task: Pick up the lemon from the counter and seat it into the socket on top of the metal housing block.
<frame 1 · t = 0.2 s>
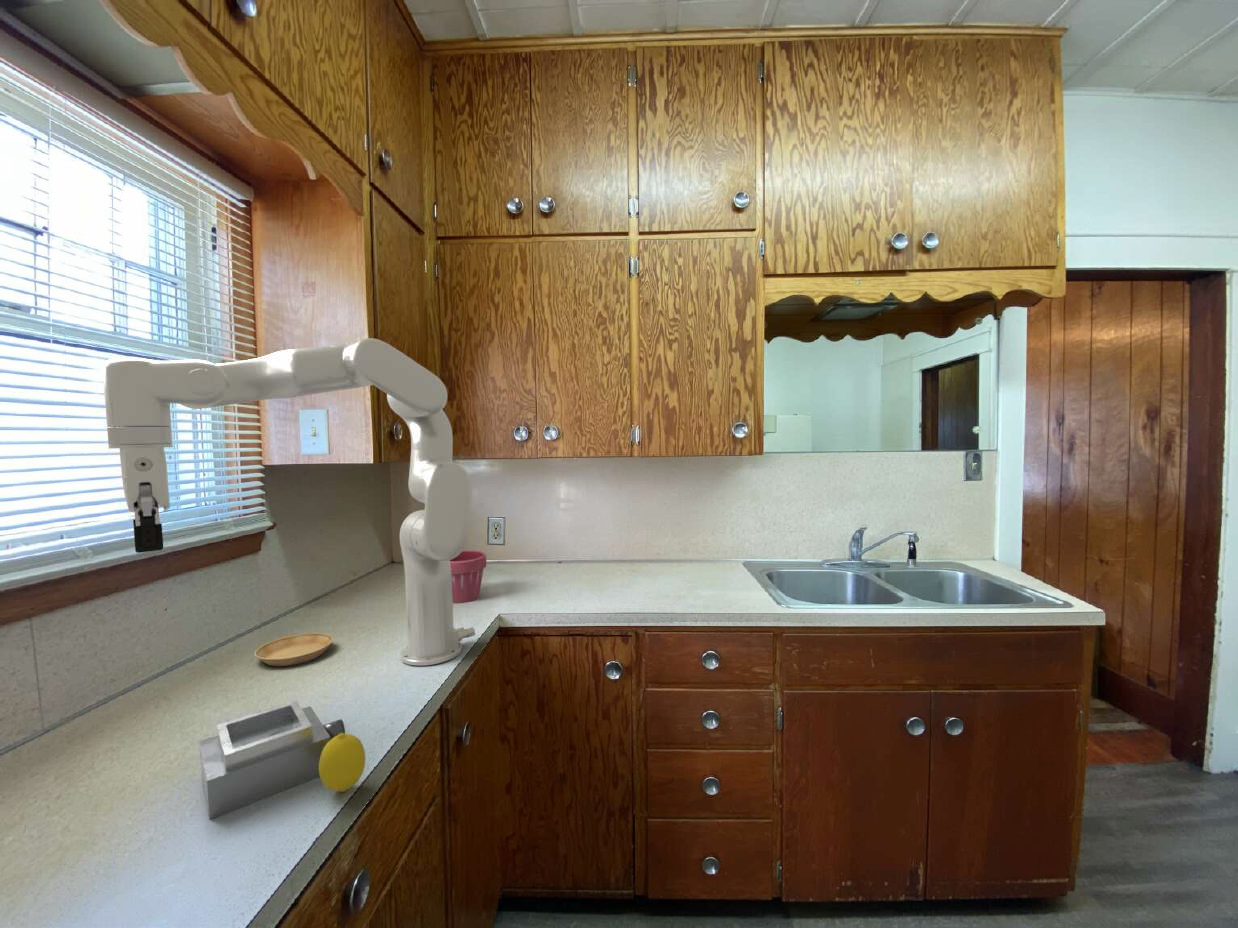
hand: (148, 546, 85), 31 cm above the countertop, fingers open, 9 cm apart
lemon: (344, 792, 72), on the countertop
housing: (267, 772, 76), on the countertop
plant pot: (462, 598, 157), on the countertop
plant saucer: (295, 657, 118), on the countertop
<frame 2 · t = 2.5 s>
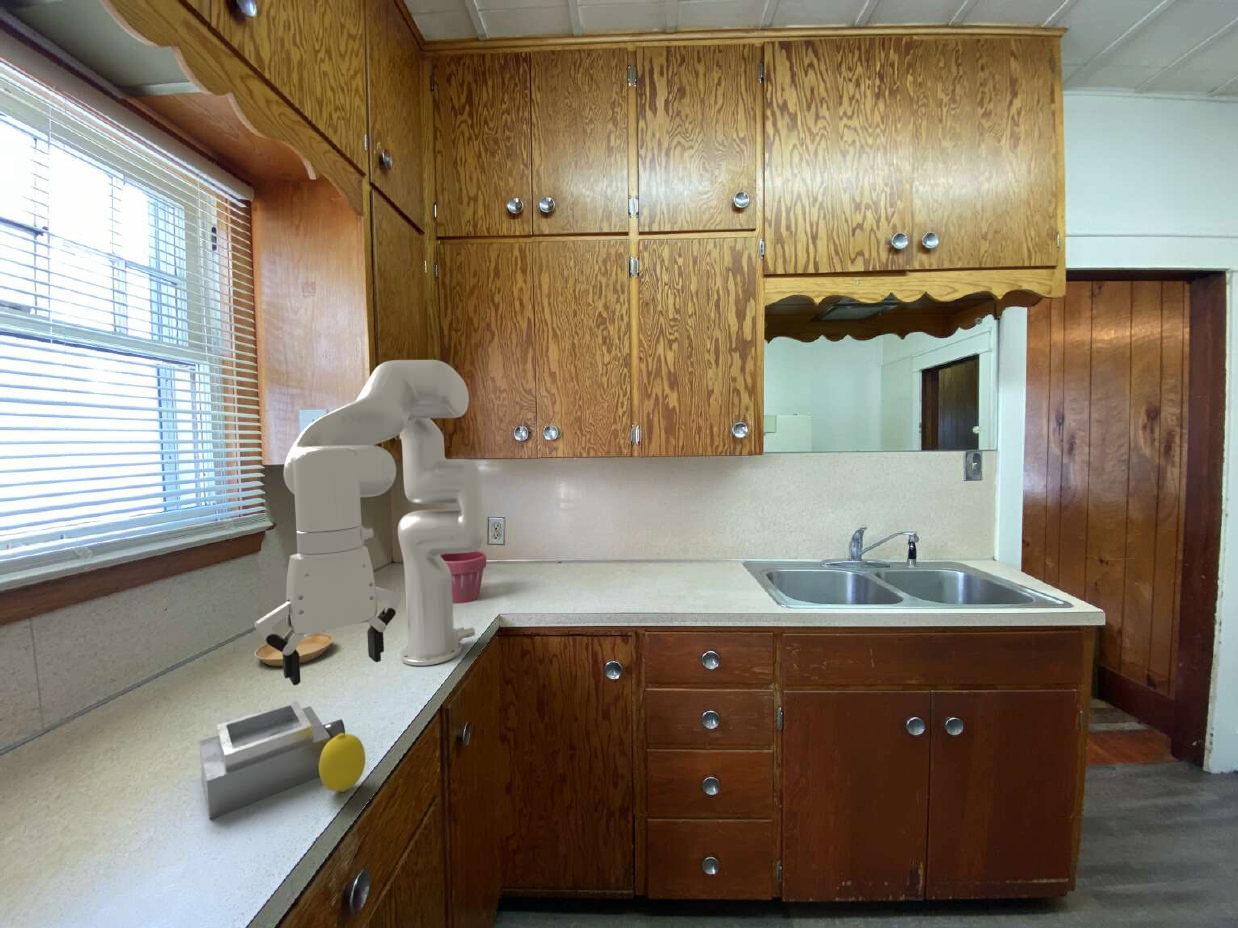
hand: (336, 669, 71), 17 cm above the countertop, fingers open, 9 cm apart
nothing on the countertop moved.
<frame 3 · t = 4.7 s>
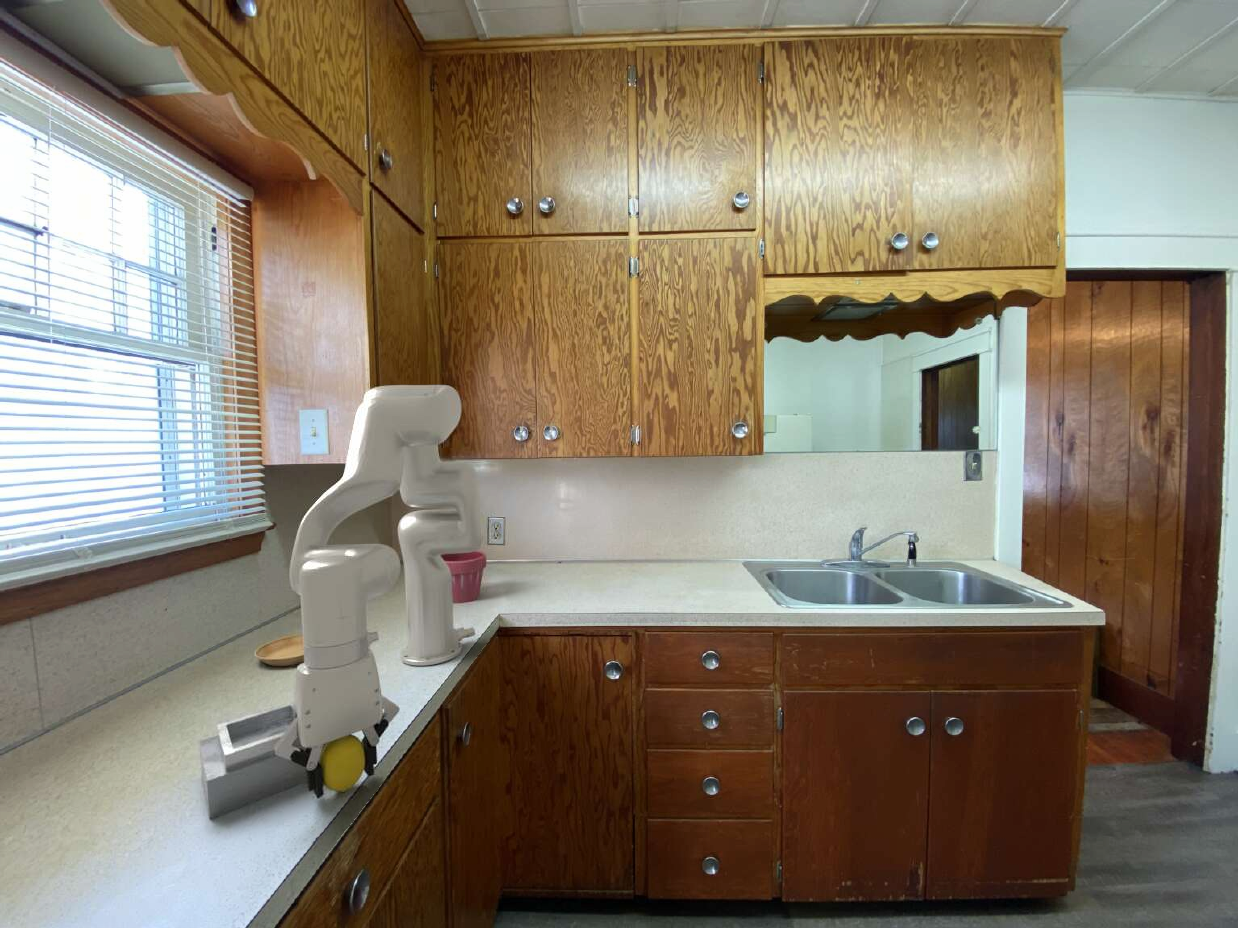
hand: (343, 780, 72), 2 cm above the countertop, fingers closed on lemon, 5 cm apart
lemon: (344, 792, 72), on the countertop, touching gripper
everything else where it was.
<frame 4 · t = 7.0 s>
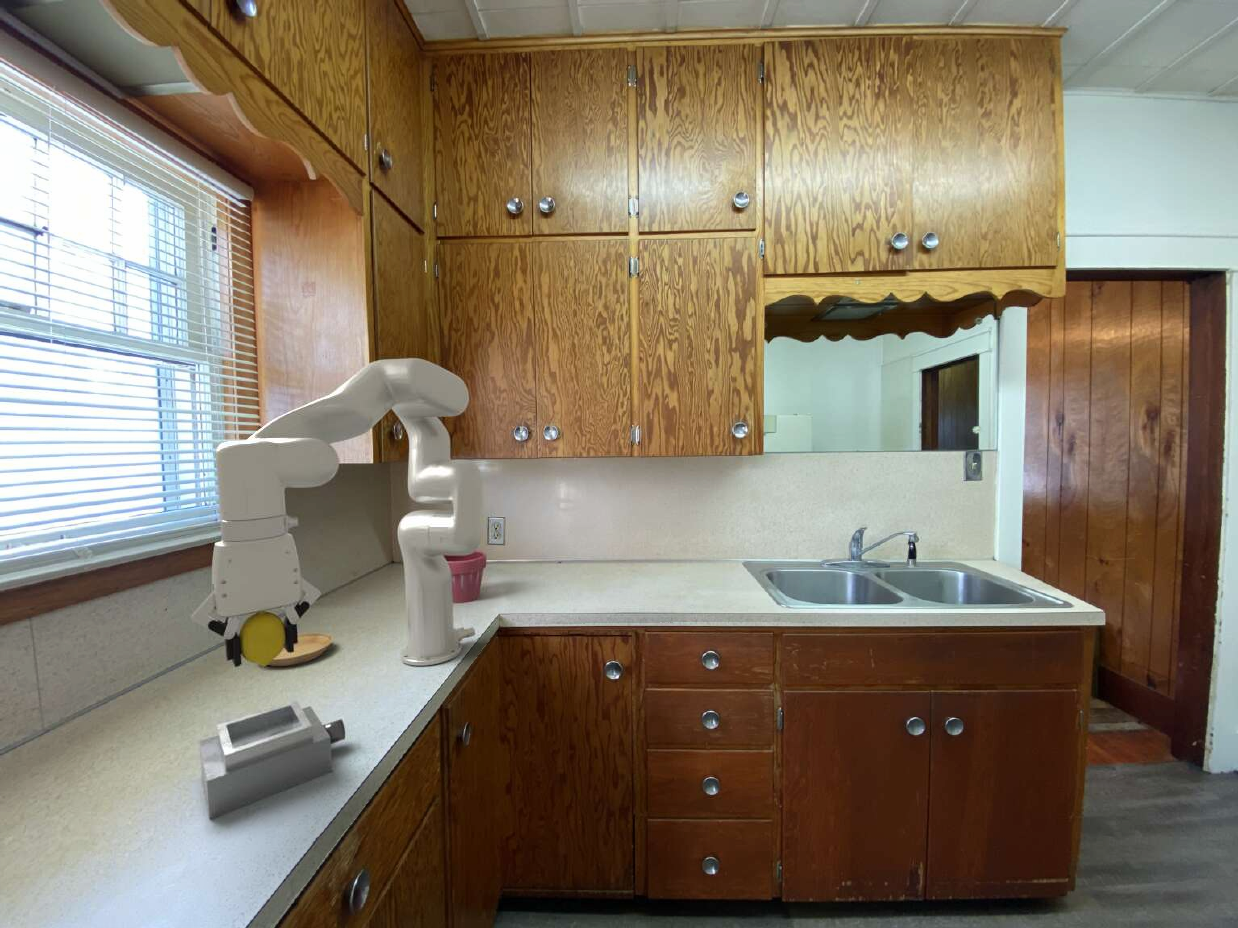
hand: (263, 655, 75), 17 cm above the countertop, fingers closed on lemon, 5 cm apart
lemon: (264, 667, 75), point 15 cm above the countertop, touching gripper
everything else where it was.
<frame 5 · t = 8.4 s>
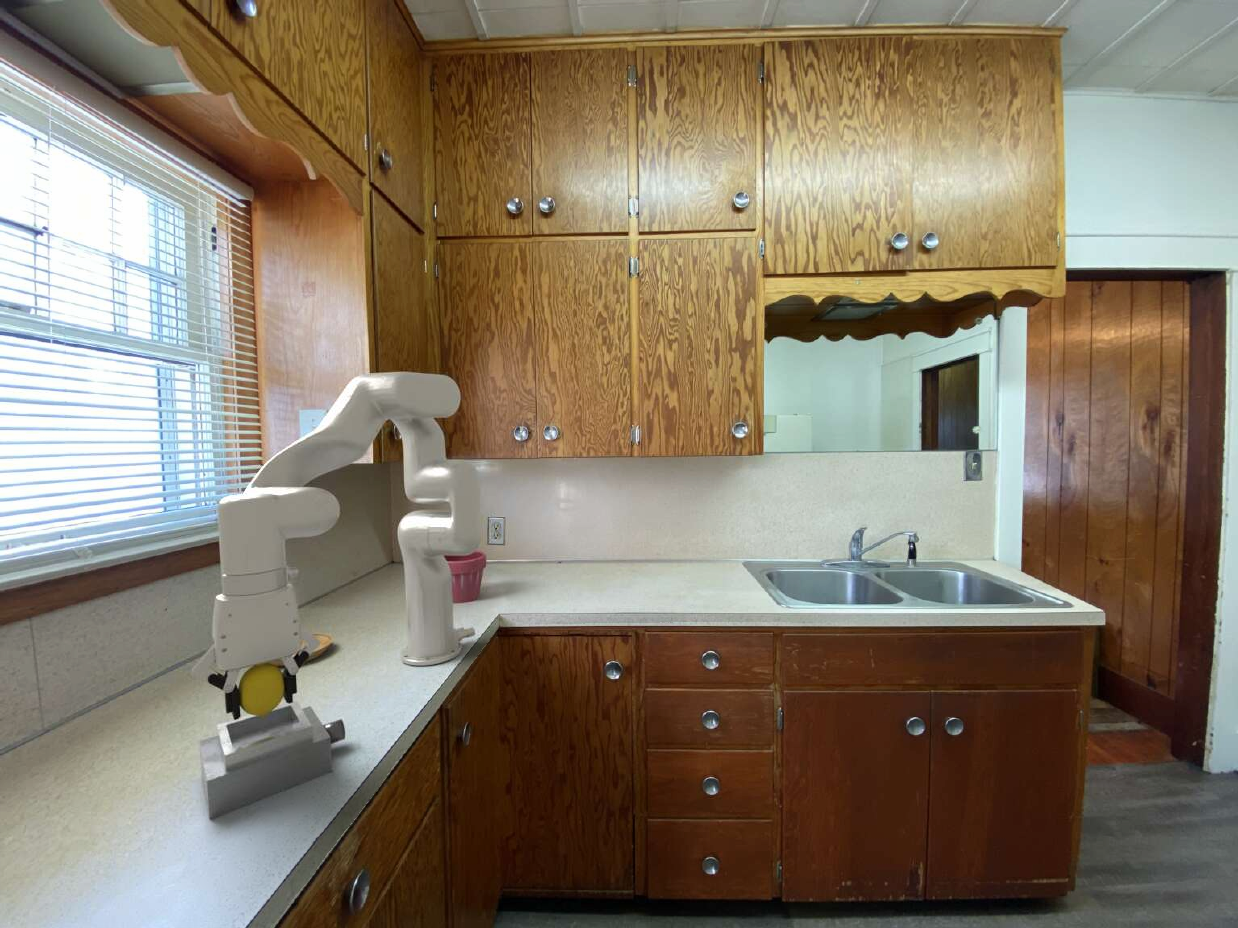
hand: (262, 706, 76), 10 cm above the countertop, fingers closed on lemon, 5 cm apart
lemon: (263, 718, 76), point 8 cm above the countertop, touching gripper
everything else where it was.
when the fingers open (8 cm above the countertop, at t = 9.5 s): lemon drops 2 cm, resting on housing.
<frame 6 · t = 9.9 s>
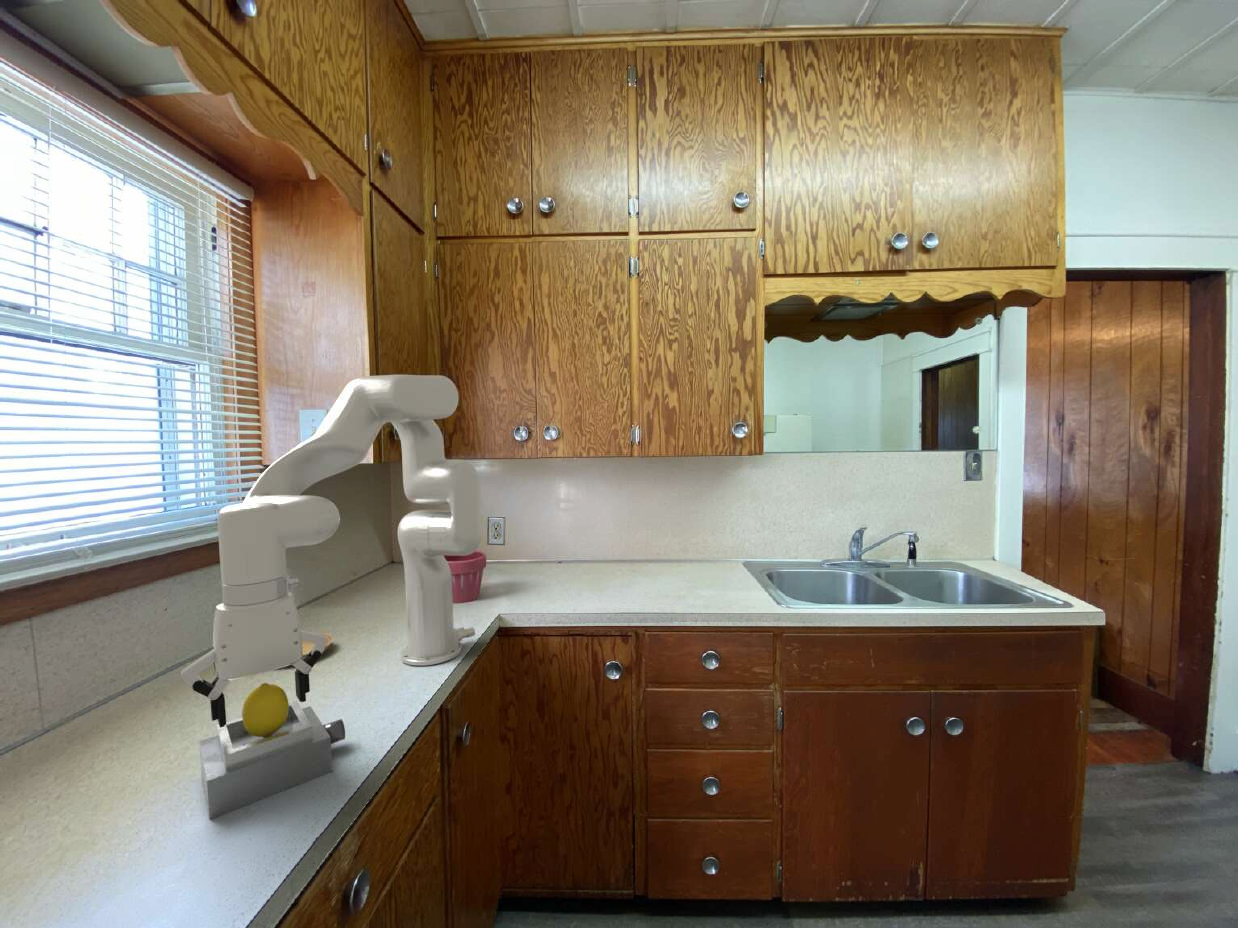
hand: (263, 710, 76), 9 cm above the countertop, fingers open, 9 cm apart
lemon: (267, 739, 76), point 5 cm above the countertop, touching housing
everything else where it was.
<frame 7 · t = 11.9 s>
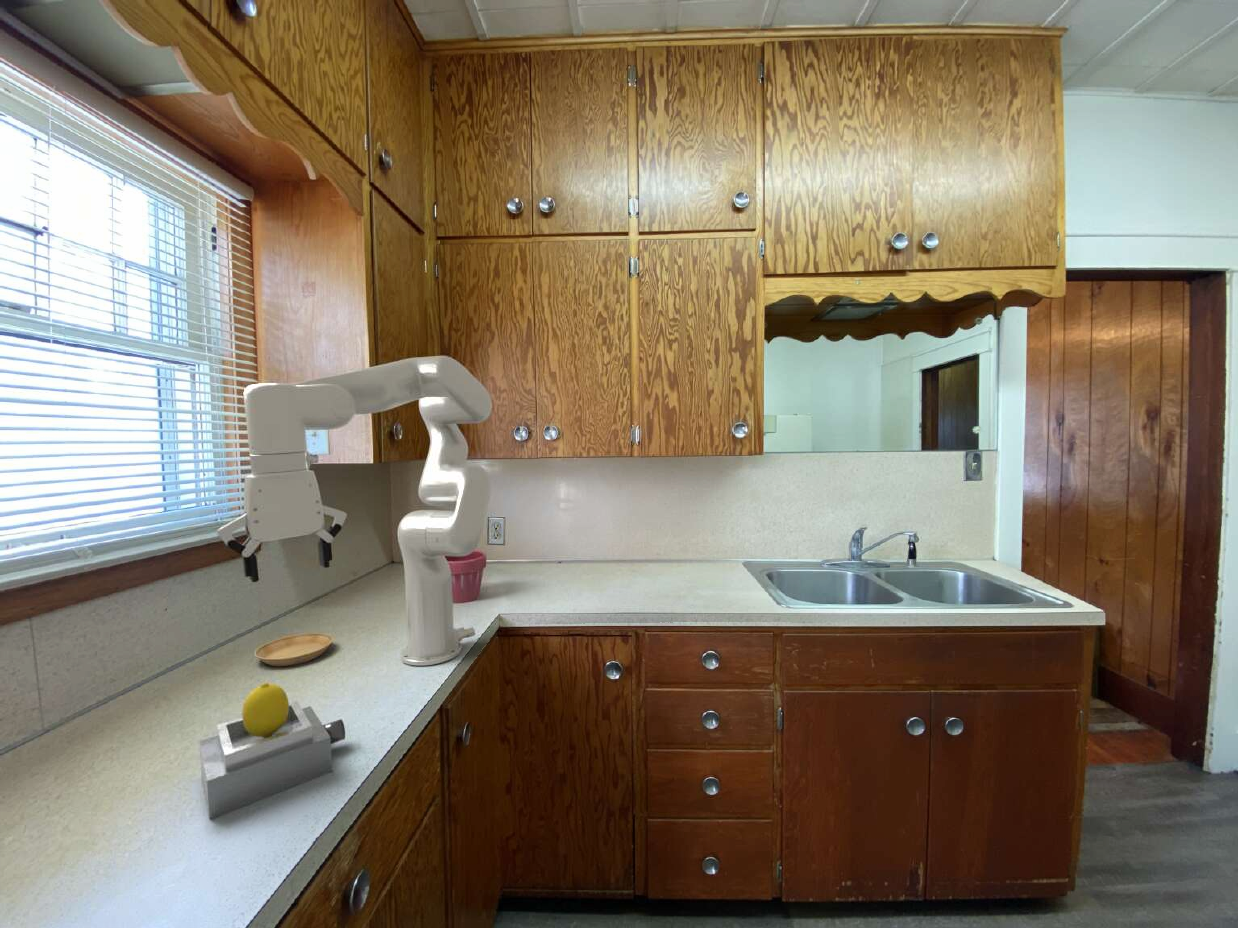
hand: (290, 572, 84), 27 cm above the countertop, fingers open, 9 cm apart
nothing on the countertop moved.
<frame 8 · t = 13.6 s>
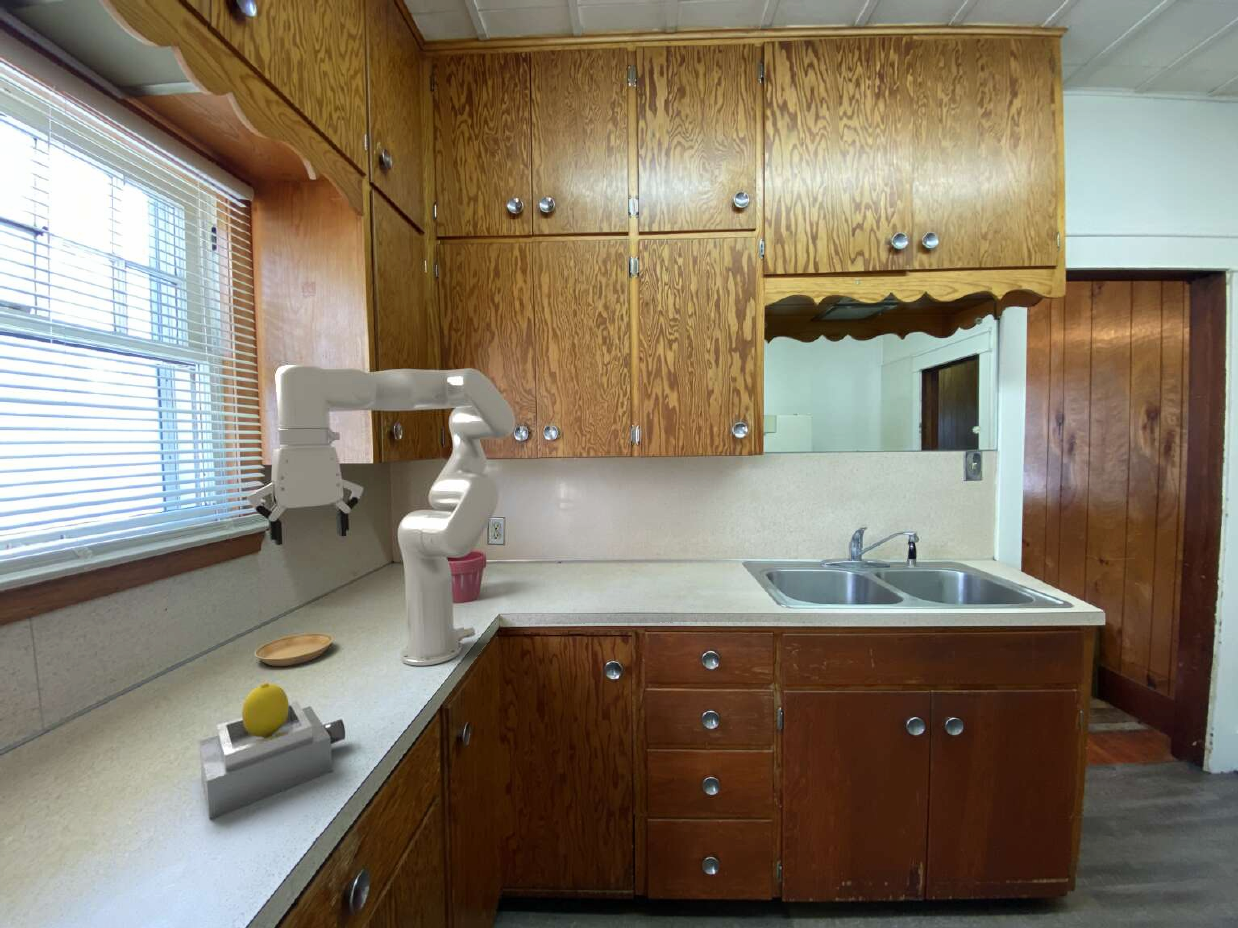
hand: (311, 539, 92), 30 cm above the countertop, fingers open, 9 cm apart
nothing on the countertop moved.
at the end: lemon 0.3 cm from the housing (horizontally); lemon point 4.8 cm above the countertop; the gripper is holding nothing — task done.
